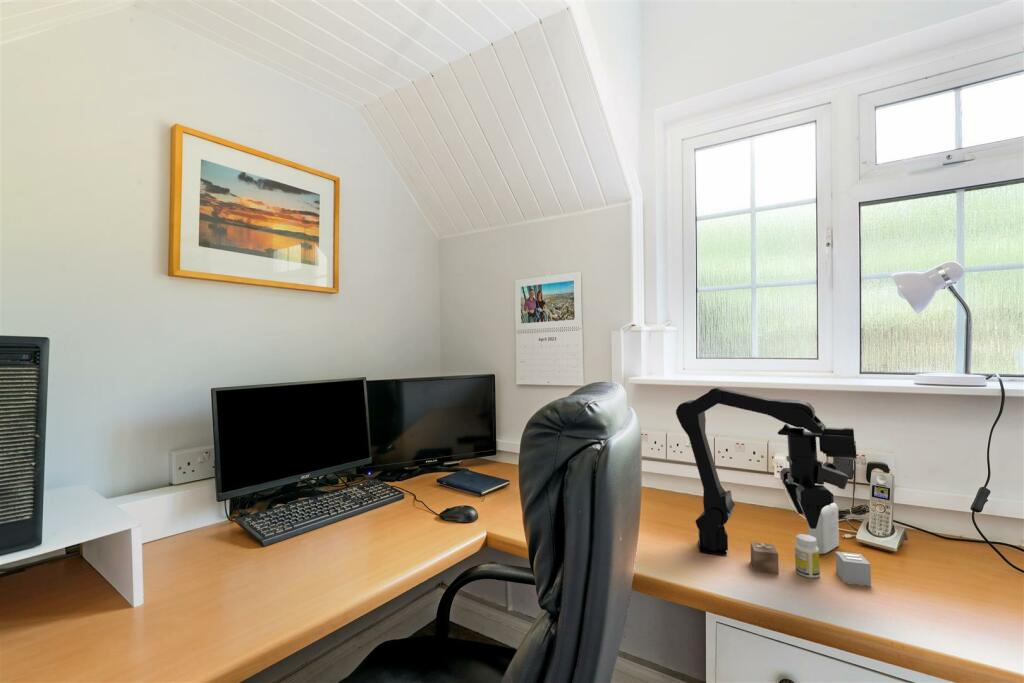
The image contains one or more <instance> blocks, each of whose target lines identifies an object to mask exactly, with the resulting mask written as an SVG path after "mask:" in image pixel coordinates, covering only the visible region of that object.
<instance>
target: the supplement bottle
mask: <svg viewBox="0 0 1024 683" xmlns="http://www.w3.org/2000/svg"><path fill="white" fill-rule="evenodd" d="M795 538H796V539H795V542H796V543H795V544H794V556H795V557H794V559H795V561H794V563H795V571H796V572H797V574H798V575H801V576H803V577H805V578H810V579H812V578H813V579H816V578H819V577H820V574H821V571H820V567H821V566H820V554H819V549H818V547H817V540H816V538H815V537H813V536H810V535H808V534H806V533H805V534H804V533H800V534H797V535H796V536H795Z"/></svg>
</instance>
